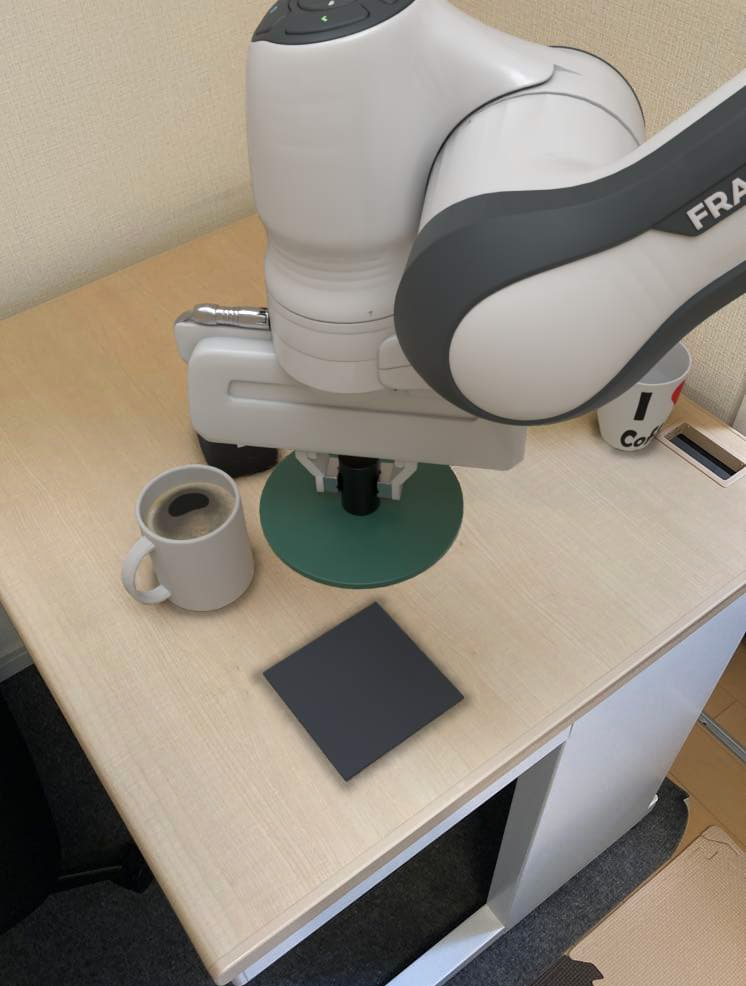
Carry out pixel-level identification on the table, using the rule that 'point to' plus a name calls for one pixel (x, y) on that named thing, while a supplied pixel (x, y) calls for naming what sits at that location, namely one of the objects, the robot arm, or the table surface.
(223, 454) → the computer mouse
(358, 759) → the mat
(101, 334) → the table surface
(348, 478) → the tin lid
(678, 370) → the cup
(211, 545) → the mug
